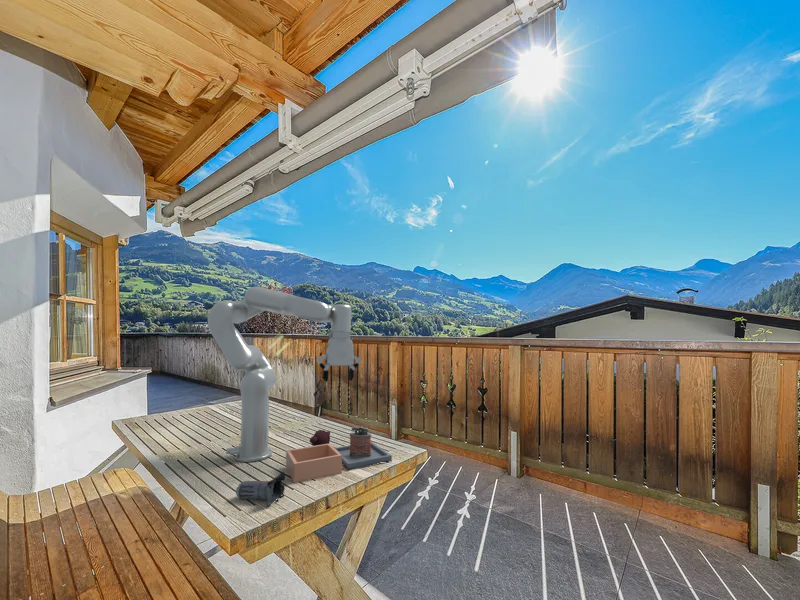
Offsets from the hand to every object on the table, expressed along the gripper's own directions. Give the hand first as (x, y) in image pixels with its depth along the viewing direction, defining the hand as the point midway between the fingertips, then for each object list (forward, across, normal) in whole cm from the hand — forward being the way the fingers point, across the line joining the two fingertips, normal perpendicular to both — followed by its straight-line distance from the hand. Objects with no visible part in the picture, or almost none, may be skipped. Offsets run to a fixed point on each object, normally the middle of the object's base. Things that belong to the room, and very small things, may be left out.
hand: (338, 380), depth 131 cm
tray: (+26, +7, -9) cm, 29 cm away
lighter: (+26, +7, -9) cm, 28 cm away
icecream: (+27, -3, +9) cm, 29 cm away
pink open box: (+27, -11, -12) cm, 32 cm away
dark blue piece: (+28, -28, -26) cm, 47 cm away
